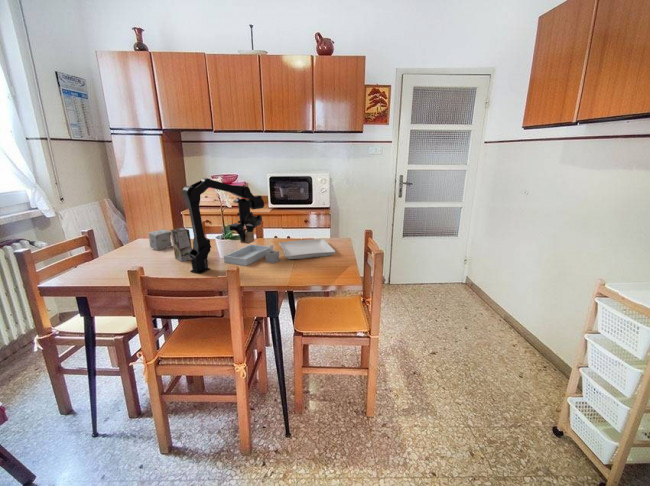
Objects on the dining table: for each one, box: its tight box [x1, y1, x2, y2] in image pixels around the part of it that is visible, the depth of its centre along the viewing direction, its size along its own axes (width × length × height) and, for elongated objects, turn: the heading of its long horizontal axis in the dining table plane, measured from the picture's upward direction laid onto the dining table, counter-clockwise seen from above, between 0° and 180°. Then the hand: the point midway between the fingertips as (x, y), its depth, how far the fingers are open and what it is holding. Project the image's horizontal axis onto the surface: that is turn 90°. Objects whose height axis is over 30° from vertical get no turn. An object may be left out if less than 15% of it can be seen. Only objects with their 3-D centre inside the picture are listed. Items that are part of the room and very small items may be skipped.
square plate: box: [278, 238, 337, 260], centre depth 167 cm, size 27×27×4 cm
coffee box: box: [169, 227, 193, 262], centre depth 158 cm, size 9×6×16 cm
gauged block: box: [264, 244, 280, 264], centre depth 152 cm, size 5×5×8 cm
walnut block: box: [239, 230, 255, 245], centre depth 156 cm, size 5×5×5 cm
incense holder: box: [148, 228, 173, 251], centre depth 179 cm, size 10×8×10 cm
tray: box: [223, 244, 270, 267], centre depth 159 cm, size 22×14×4 cm, turn 156°
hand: (247, 240), depth 157 cm, fingers closed on walnut block, 5 cm apart
